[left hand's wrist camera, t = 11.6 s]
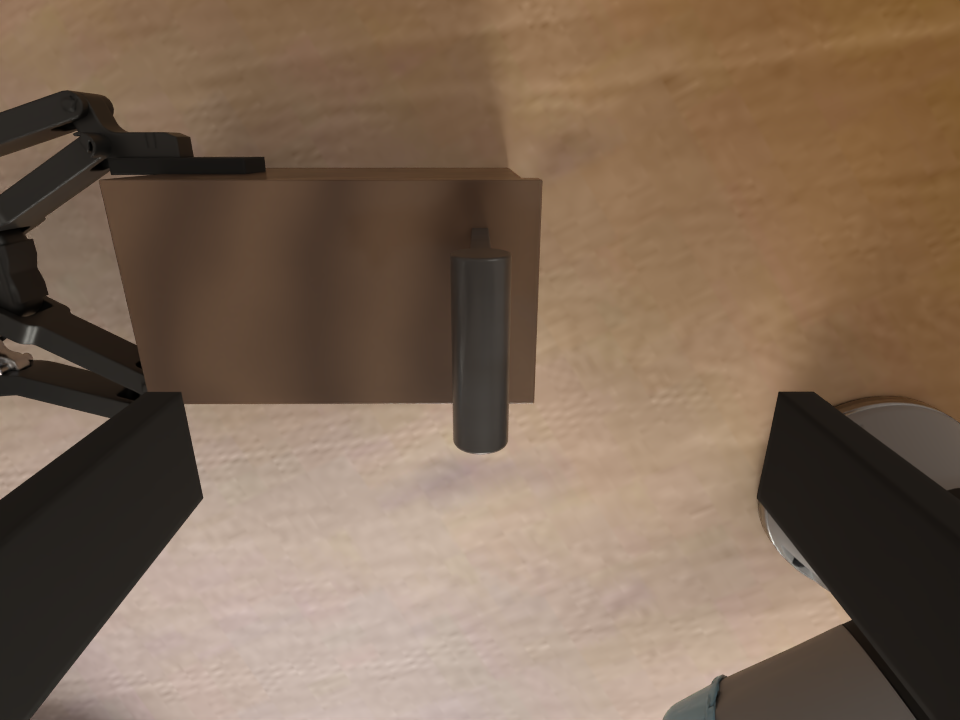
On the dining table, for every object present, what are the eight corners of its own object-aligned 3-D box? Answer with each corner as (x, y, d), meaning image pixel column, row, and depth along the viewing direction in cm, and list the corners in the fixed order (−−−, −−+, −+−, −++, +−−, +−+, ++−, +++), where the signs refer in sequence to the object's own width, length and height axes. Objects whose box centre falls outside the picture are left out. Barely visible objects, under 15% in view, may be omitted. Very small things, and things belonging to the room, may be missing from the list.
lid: (539, 177, 24) (571, 195, 16) (531, 392, 28) (554, 500, 19) (117, 178, 24) (-76, 195, 16) (164, 393, 27) (27, 501, 19)
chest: (509, 168, 34) (522, 177, 24) (506, 324, 38) (516, 392, 28) (227, 167, 34) (117, 177, 24) (251, 324, 38) (164, 392, 28)
